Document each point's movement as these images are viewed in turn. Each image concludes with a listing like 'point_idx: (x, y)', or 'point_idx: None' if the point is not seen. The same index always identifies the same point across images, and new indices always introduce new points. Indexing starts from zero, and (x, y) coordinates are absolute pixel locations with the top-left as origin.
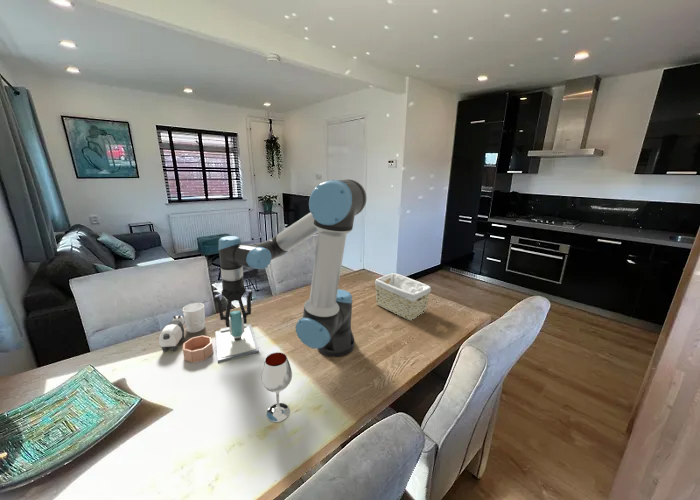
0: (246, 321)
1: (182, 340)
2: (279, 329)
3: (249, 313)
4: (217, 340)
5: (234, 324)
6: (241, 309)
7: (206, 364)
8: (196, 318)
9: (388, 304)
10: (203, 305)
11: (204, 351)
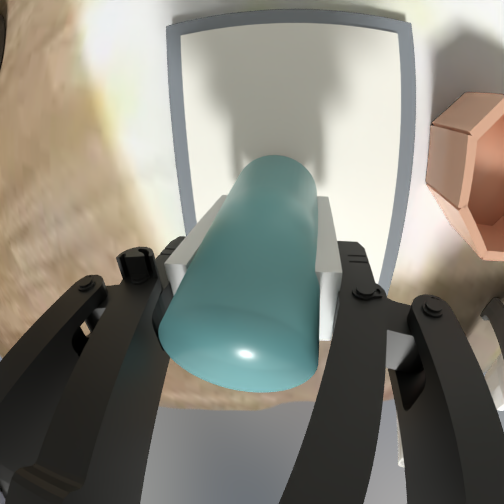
0: (168, 245)
1: (496, 301)
2: (77, 208)
3: (84, 280)
4: (395, 228)
5: (284, 212)
6: (117, 359)
7: (458, 49)
8: None
9: None
10: (403, 458)
11: (493, 93)
